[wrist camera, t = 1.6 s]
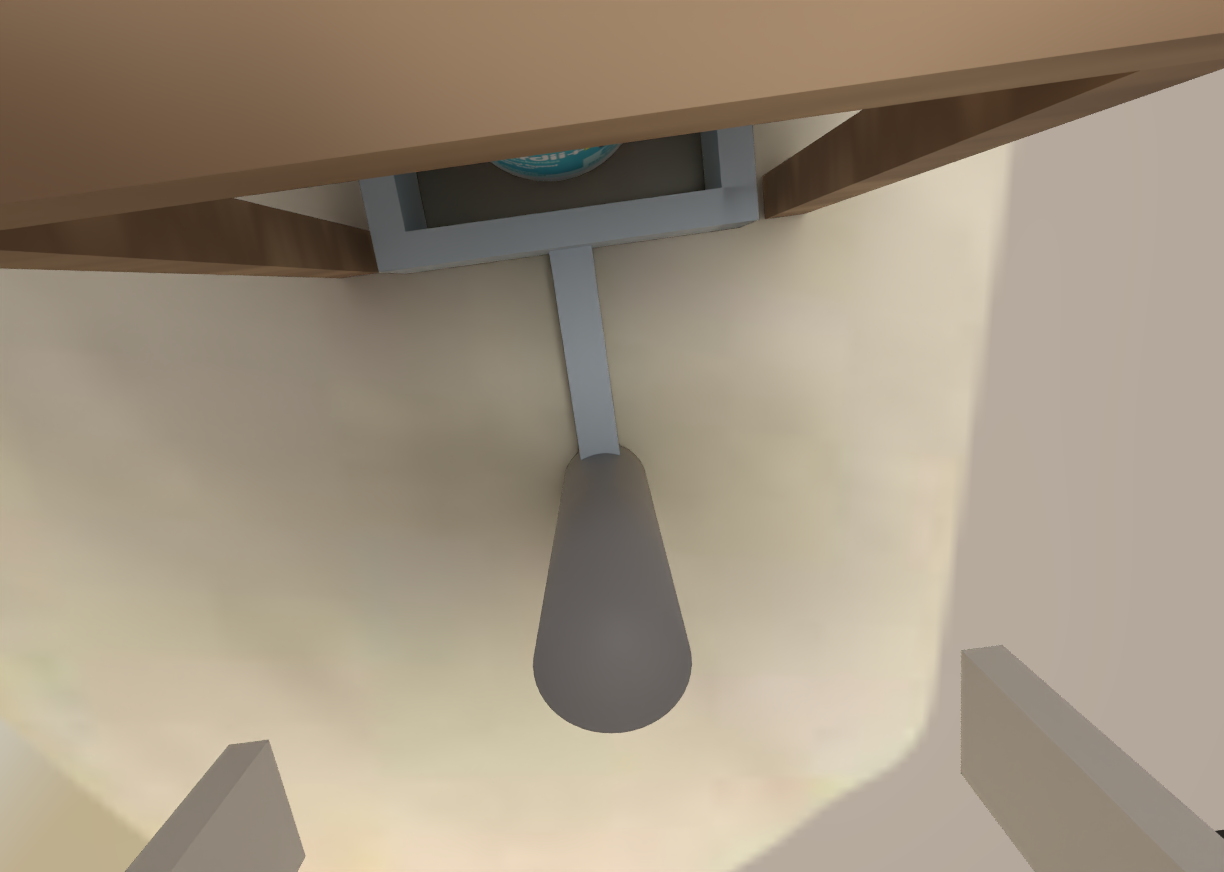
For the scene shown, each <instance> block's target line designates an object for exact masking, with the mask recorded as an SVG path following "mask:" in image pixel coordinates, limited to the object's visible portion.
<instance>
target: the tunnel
mask: <svg viewBox="0 0 1224 872" xmlns="http://www.w3.org/2000/svg"><path fill="white" fill-rule="evenodd" d="M1223 68H1224V0H0V268H8V269H42V270H77V271H112V272H146V273H181V274H216V275H250V276H285V277H320V278H344V277H351V276H358V275H366V274H373V273H379V270H378V266H377V261H376V257H375V252H374V248H373V243H372V239H371V234H370V231H368V230H364V229H359V228H355V227H351V226H347V225H343V224H339V223H334V222H330V221H326V220H322V219H318V218H313V217H309V216H305V215H301V214H297V213H293V212H288V211H284V210H280V209H276V208H272V207H268V206H263V205H259V204H255V203H251V202H247V201H243V200H238V199H234V198H235V197H242V196H249V195H256V194H263V193H270V192H277V191H284V190H292V189H299V188H306V187H313V186H320V185H327V184H334V183H341V182H349V181H356V180H363V179H370V178H377V177H384V176H391V175H398V174H406V173H413V172H420V171H427V170H434V169H441V168H448V167H455V166H463V165H470V164H477V163H484V162H491V161H498V160H505V159H513V158H520V157H527V156H534V155H541V154H548V153H555V152H562V151H570V150H577V149H584V148H591V147H598V146H605V145H612V144H619V143H627V142H634V141H641V140H648V139H655V138H662V137H669V136H676V135H684V134H691V133H698V132H705V131H712V130H719V129H726V128H734V127H741V126H748V125H755V124H762V123H769V122H776V121H783V120H791V119H798V118H805V117H812V116H819V115H826V114H833V113H840V112H848V111H855V110H862V109H863V110H862V111H860V112H859V113H857V114H856V115H854V116H852V117H851V118H849V119H848V120H846V121H845V122H843V123H842V124H840V125H839V126H837V127H836V128H834V129H833V130H831V131H830V132H828V133H827V134H825V135H824V136H822V137H821V138H819V139H818V140H816V141H815V142H813V143H812V144H810V145H809V146H807V147H806V148H804V149H803V150H801V151H800V152H798V153H797V154H795V155H794V156H792V157H791V158H789V159H788V160H786V161H785V162H783V163H782V164H780V165H779V166H777V167H776V168H774V169H773V170H771V171H770V172H768V173H766V174H765V175H763V176H762V179H763V194H764V209H765V219H769V218H776V217H784V216H791V215H798V214H805V213H808V212H811V211H814V210H817V209H820V208H822V207H825V206H828V205H831V204H834V203H837V202H840V201H843V200H845V199H848V198H851V197H854V196H857V195H860V194H863V193H866V192H869V191H871V190H874V189H877V188H880V187H883V186H886V185H889V184H892V183H895V182H897V181H900V180H903V179H906V178H909V177H912V176H915V175H918V174H920V173H923V172H926V171H929V170H932V169H935V168H938V167H941V166H944V165H946V164H949V163H952V162H955V161H958V160H961V159H964V158H967V157H969V156H972V155H975V154H978V153H981V152H984V151H987V150H990V149H993V148H995V147H998V146H1001V145H1004V144H1007V143H1010V142H1013V141H1016V140H1019V139H1021V138H1024V137H1027V136H1030V135H1033V134H1036V133H1039V132H1042V131H1044V130H1047V129H1050V128H1053V127H1056V126H1059V125H1062V124H1065V123H1067V122H1070V121H1073V120H1076V119H1079V118H1082V117H1085V116H1087V115H1091V114H1093V113H1096V112H1099V111H1102V110H1105V109H1108V108H1111V107H1114V106H1116V105H1119V104H1122V103H1125V102H1128V101H1131V100H1134V99H1137V98H1140V97H1142V96H1145V95H1148V94H1151V93H1154V92H1156V91H1159V90H1162V89H1165V88H1168V87H1171V86H1174V85H1177V84H1180V83H1183V82H1186V81H1189V80H1192V79H1194V78H1197V77H1200V76H1203V75H1206V74H1209V73H1212V72H1214V71H1217V70H1220V69H1223Z"/></svg>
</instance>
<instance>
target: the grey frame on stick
mask: <svg viewBox="0 0 1224 872" xmlns="http://www.w3.org/2000/svg"><path fill="white" fill-rule="evenodd" d="M700 133H701V144H702V155H703V167H704V178H705V189H706V190H702V191H694V192H687V193H680V194H673V195H666V196H659V197H651V198H644V199H637V200H630V201H623V202H616V203H608V204H601V205H594V206H587V207H580V208H572V209H565V210H558V211H551V212H544V213H537V214H529V215H522V216H515V217H508V218H501V219H494V220H486V221H479V222H472V223H465V224H458V225H450V226H443V227H436V228H429V229H427V225H426V220H425V215H424V210H423V205H422V200H421V195H420V190H419V185H418V180H417V175H416V172H413V173H406V174H398V175H391V176H384V177H377V178H370V179H363V180H359V184H360V189H361V193H362V198H363V202H364V207H365V211H366V216H367V220H368V225H369V229H370V234H371V238H372V243H373V248H374V252H375V257H376V261H377V266H378V270H379V272H383V273H399V274H408V273H416V272H423V271H430V270H437V269H445V268H452V267H459V266H466V265H473V264H481V263H488V262H495V261H502V260H509V259H517V258H524V257H531V256H538V255H546V254H549V255H550V261H551V268H552V275H553V281H554V288H555V294H556V301H557V307H558V314H559V320H560V327H561V333H562V340H563V347H564V353H565V360H566V366H567V373H568V379H569V386H570V392H571V399H572V405H573V412H574V419H575V425H576V432H577V438H578V445H579V451H580V452H579V453H578V454H576V455H575V457H574V458H573V459H572V460H571V462H570V463H569V465H568V467H567V470H566V473H565V478H564V483H563V489H562V495H561V501H560V507H559V513H558V518H557V524H556V530H555V536H554V542H553V548H552V553H551V559H550V565H549V571H548V577H547V583H546V588H545V594H544V600H543V606H542V612H541V617H540V623H539V629H538V635H537V641H536V647H535V652H534V659H533V670H534V677H535V681H536V685H537V687H538V689H539V692H540V694H541V695H542V697H543V699H544V700H545V702H546V703H547V704H548V705H549V707H550V708H551V709H552V710H553V711H554V712H555V713H556V714H557V715H559V716H560V717H562V718H563V719H564V720H566V721H568V722H569V723H571V724H573V725H575V726H578V727H580V728H583V729H586V730H590V731H594V732H601V733H622V732H628V731H633V730H636V729H640V728H643V727H645V726H647V725H649V724H652V723H653V722H655V721H657V720H659V719H660V718H661V717H663V716H664V715H665V714H667V713H668V712H669V711H670V710H671V709H672V708H673V707H674V706H675V705H676V703H677V702H678V701H679V700H680V698H681V697H682V695H683V693H684V692H685V689H686V687H687V685H688V682H689V678H690V675H691V667H692V659H691V651H690V646H689V642H688V638H687V634H686V630H685V626H684V623H683V619H682V615H681V611H680V607H679V603H678V599H677V595H676V591H675V587H674V583H673V579H672V576H671V572H670V568H669V564H668V560H667V556H666V552H665V548H664V544H663V540H662V536H661V532H660V529H659V525H658V521H657V517H656V513H655V509H654V505H653V501H652V497H651V493H650V489H649V485H648V482H647V478H646V474H645V470H644V468H643V465H642V464H641V462H640V460H639V459H638V458H637V457H636V456H635V454H633V453H632V452H631V451H630V450H628V449H626V448H624V447H622V446H620V445H619V444H618V436H617V429H616V422H615V414H614V407H613V399H612V392H611V385H610V377H609V370H608V363H607V355H606V348H605V341H604V333H603V326H602V318H601V311H600V304H599V296H598V289H597V282H596V274H595V267H594V259H593V252H592V248H596V247H603V246H610V245H618V244H625V243H632V242H639V241H647V240H654V239H661V238H668V237H675V236H683V235H690V234H697V233H704V232H711V231H719V230H726V229H733V228H740V227H742V226H745V225H747V224H749V223H752V222H754V221H757V220H759V210H758V195H757V181H756V166H755V152H754V137H753V125H748V126H741V127H734V128H726V129H719V130H712V131H705V132H700Z"/></svg>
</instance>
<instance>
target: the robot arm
mask: <svg viewBox="0 0 1224 872" xmlns="http://www.w3.org/2000/svg"><path fill="white" fill-rule="evenodd" d="M961 774H962V776H963V777H964V778H965V780H966V781H967V782H968V784H969V785H970V786H971V787H972V789H973V790H974V792H975V793H976V794H977V796H978V797H979V798H980V799H981V801H982V802H983V803H984V805H985V806H986V808H987V809H988V810H989V811H990V813H991V814H992V816H993V817H994V818H995V820H996V821H997V822H998V824H999V825H1000V826H1001V827H1002V829H1003V830H1004V831H1005V833H1006V834H1007V836H1008V837H1009V838H1010V839H1011V841H1012V842H1013V844H1014V845H1015V846H1016V848H1017V849H1018V850H1019V851H1020V853H1021V854H1022V855H1023V857H1024V858H1025V859H1026V861H1027V862H1028V863H1029V865H1030V866H1031V867H1032V869H1033V870H1034V871H1035V872H1224V830H1218V831H1214V830H1213V829H1212V828H1211V827H1210V826H1208V825H1207V824H1206V823H1205V822H1204V821H1203V820H1201V819H1200V818H1199V817H1198V816H1197V815H1196V814H1195V813H1194V812H1192V811H1191V810H1190V809H1189V808H1188V807H1187V806H1186V805H1184V804H1183V803H1182V802H1181V801H1180V800H1179V799H1178V798H1176V797H1175V796H1174V795H1173V794H1172V793H1171V792H1170V791H1168V790H1167V789H1166V788H1165V787H1164V786H1163V785H1162V784H1160V783H1159V782H1158V781H1157V780H1156V779H1155V778H1153V777H1152V776H1151V775H1150V774H1149V773H1148V772H1147V771H1146V770H1144V769H1143V768H1142V767H1141V766H1140V765H1139V764H1138V763H1137V762H1135V761H1134V760H1133V759H1132V758H1131V757H1130V756H1129V755H1127V754H1126V753H1125V752H1124V751H1123V750H1122V749H1121V748H1119V747H1118V746H1117V745H1116V744H1115V743H1114V742H1112V741H1111V740H1110V739H1109V738H1108V737H1107V736H1106V735H1105V734H1103V733H1102V732H1101V731H1100V730H1099V729H1098V728H1096V727H1095V726H1094V725H1093V724H1092V723H1091V722H1090V721H1089V720H1087V719H1086V718H1085V717H1084V716H1083V715H1082V714H1081V713H1079V712H1078V711H1077V710H1076V709H1075V708H1074V707H1073V706H1071V705H1070V704H1069V703H1068V702H1067V701H1066V700H1065V699H1063V698H1062V697H1061V696H1060V695H1059V694H1058V693H1057V692H1055V691H1054V690H1053V689H1052V688H1051V687H1050V686H1049V685H1047V684H1046V683H1045V682H1044V681H1043V680H1042V679H1041V678H1039V677H1038V676H1037V675H1036V674H1035V673H1034V672H1033V671H1031V670H1030V669H1029V668H1028V667H1027V666H1026V665H1025V664H1024V663H1022V662H1021V661H1020V660H1019V659H1018V658H1016V656H1014V655H1013V654H1012V653H1011V652H1010V651H1009V650H1007V649H1006V648H1005V647H1004V646H1003V645H999V646H991V647H984V648H976V649H968V650H961ZM304 858H305V853H304V850H303V847H302V843H301V840H300V837H299V834H298V831H297V828H296V824H295V821H294V818H293V815H292V812H291V809H290V805H289V802H288V799H287V796H286V793H285V790H284V786H283V783H282V780H281V777H280V774H279V771H278V767H277V764H276V761H275V758H274V755H273V751H272V748H271V745H270V742H269V740H263V741H255V742H247V743H240V744H232V745H228V747H227V748H226V749H225V750H224V752H223V753H222V754H221V755H220V756H219V758H218V759H217V760H216V761H215V763H214V764H213V765H212V766H211V767H210V769H209V770H208V771H207V772H206V773H205V775H204V776H203V777H202V778H201V780H200V781H199V782H198V783H197V784H196V786H195V787H194V788H193V789H192V790H191V792H190V793H189V794H188V795H187V797H186V798H185V799H184V800H183V801H182V803H181V804H180V805H179V806H178V808H177V809H176V810H175V811H174V812H173V814H172V815H171V816H170V817H169V818H168V820H167V821H166V822H165V823H164V825H163V826H162V827H161V828H160V829H159V831H158V832H157V833H156V834H155V836H154V837H153V838H152V839H151V840H150V842H149V843H148V844H147V845H146V846H145V848H144V849H143V850H142V851H141V853H140V854H139V855H138V856H137V857H136V859H135V860H134V861H133V862H132V863H131V865H130V866H129V867H128V869H127V870H126V871H125V872H298V870H299V868H300V866H301V864H302V862H303V860H304Z"/></svg>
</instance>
